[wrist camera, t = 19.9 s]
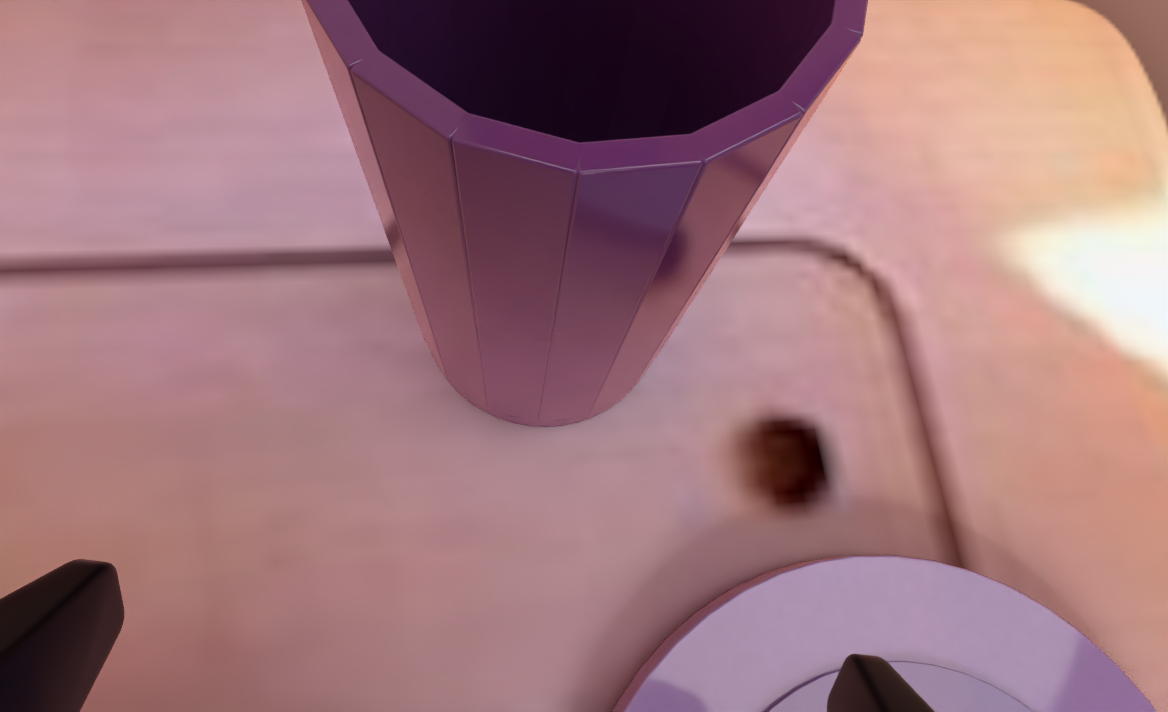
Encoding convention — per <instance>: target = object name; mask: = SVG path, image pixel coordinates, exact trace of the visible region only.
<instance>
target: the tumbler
mask: <svg viewBox="0 0 1168 712" xmlns="http://www.w3.org/2000/svg"><path fill="white" fill-rule="evenodd" d="M301 1H302V4H303V6H304V9H305V12H306V15H307V17H308V20H309V23H310V26H311V28H312V31H313V34H314V37H315V40H316V42H317V45H318V48H319V51H320V53H321V56H322V59H323V62H324V64H325V67H326V70H327V73H328V75H329V78H330V81H331V84H332V86H333V89H334V92H335V95H336V97H337V100H338V103H339V106H340V108H341V111H342V114H343V117H344V119H345V122H346V125H347V128H348V131H349V133H350V136H351V139H352V142H353V144H354V147H355V150H356V153H357V155H358V158H359V161H360V164H361V166H362V169H363V172H364V175H365V177H366V180H367V183H368V186H369V188H370V191H371V194H372V197H373V199H374V202H375V205H376V208H377V210H378V213H379V216H380V219H381V222H382V224H383V227H384V230H385V233H386V235H387V238H388V241H389V244H390V246H391V249H392V252H393V255H394V257H395V260H396V263H397V266H398V268H399V271H400V274H401V277H402V279H403V282H404V285H405V288H406V290H407V293H408V296H409V299H410V301H411V304H412V307H413V310H414V312H415V315H416V318H417V321H418V324H419V326H420V329H421V332H422V335H423V337H424V340H425V341H426V343H427V345H428V347H429V348H430V350H431V353H432V355H433V357H434V359H435V361H436V363H437V366H438V367H439V369H440V370H441V372H442V373H443V375H444V376H445V378H446V379H447V380H448V382H449V383H450V384H451V385H452V386H453V387H454V388H455V390H456V391H457V392H458V393H460V394H461V395H462V396H463V397H464V398H465V399H467V400H468V401H469V402H470V403H472V404H473V405H475V406H476V407H478V408H480V409H481V410H483V411H485V412H487V413H489V414H491V415H493V416H495V417H497V418H500V419H503V420H506V421H509V422H512V423H517V424H523V425H528V426H542V427H548V426H562V425H567V424H572V423H577V422H580V421H583V420H586V419H589V418H591V417H594V416H596V415H598V414H600V413H602V412H604V411H606V410H607V409H609V408H610V407H612V406H613V405H615V404H616V403H618V402H619V401H620V400H621V399H623V398H624V397H625V396H626V395H627V394H628V393H629V392H630V391H631V390H632V389H633V388H634V387H635V385H636V384H637V383H638V382H639V381H640V379H641V378H642V376H643V375H644V373H645V372H646V370H647V369H648V368H649V366H650V365H651V364H652V362H653V361H654V360H655V358H656V357H657V355H658V354H659V352H660V351H661V349H662V348H663V346H664V345H665V343H666V342H667V340H668V339H669V337H670V335H671V334H672V332H673V331H674V329H675V328H676V326H677V325H678V323H679V322H680V320H681V318H682V317H683V315H684V314H685V312H686V311H687V309H688V308H689V306H690V304H691V303H692V301H693V300H694V298H695V297H696V295H697V294H698V292H699V291H700V289H701V287H702V286H703V284H704V283H705V281H706V280H707V278H708V277H709V275H710V274H711V272H712V270H713V269H714V267H715V266H716V264H717V263H718V261H719V260H720V258H721V257H722V255H723V253H724V252H725V250H726V249H727V247H728V246H729V244H730V243H731V241H732V239H733V238H734V236H735V235H736V233H737V232H738V230H739V229H740V227H741V226H742V224H743V222H744V221H745V219H746V218H747V216H748V215H749V213H750V212H751V210H752V209H753V207H754V205H755V204H756V202H757V201H758V199H759V198H760V196H761V195H762V193H763V191H764V190H765V188H766V187H767V185H768V184H769V182H770V181H771V179H772V178H773V176H774V174H775V173H776V171H777V170H778V168H779V167H780V165H781V164H782V162H783V161H784V159H785V157H786V156H787V154H788V153H789V151H790V150H791V148H792V147H793V145H794V144H795V142H796V140H797V139H798V137H799V136H800V134H801V133H802V131H803V130H804V128H805V126H806V125H807V123H808V122H809V120H810V119H811V117H812V116H813V114H814V113H815V111H816V109H817V108H818V106H819V105H820V103H821V102H822V100H823V99H824V97H825V96H826V94H827V92H828V91H829V89H830V88H831V86H832V85H833V83H834V82H835V80H836V78H837V77H838V75H839V74H840V72H841V71H842V69H843V68H844V66H845V65H846V63H847V61H848V60H849V58H850V57H851V55H852V54H853V52H854V51H855V49H856V48H857V46H858V44H859V43H860V41H861V38H862V36H863V32H864V25H865V18H866V11H867V4H868V0H301Z"/></svg>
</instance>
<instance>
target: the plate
mask: <svg viewBox="0 0 1168 712" xmlns="http://www.w3.org/2000/svg"><path fill="white" fill-rule="evenodd" d="M850 654H863V655H871V656H878V657H881V658H883V659H884V660H886V661H887V662H888V663H889V664H890V665H891V666H892V667H893V668H894V669H895V670H896V671H897V672H898V673H899V674H900V675H901V676H902V678H903V679H904V680H905V681H906V682H907V683H908V684H909V685H910V686H911V687H912V688H913V689H914V690H915V691H916V692H917V693H918V694H919V695H920V696H921V697H922V699H923V700H924V701H925V702H926V703H927V704H928V705H929V706H930V707H931V708H932V709H933V710H934V711H935V712H1157V711H1156V710H1155V708H1154V707H1153V706H1152V704H1151V703H1150V701H1149V700H1148V699H1147V698H1146V697H1145V696H1144V694H1143V693H1142V692H1141V691H1140V690H1139V689H1138V688H1137V687H1136V685H1135V684H1134V683H1133V682H1132V681H1131V680H1130V679H1129V677H1128V676H1127V675H1126V674H1125V673H1124V672H1123V671H1122V670H1121V668H1120V667H1119V666H1118V665H1117V664H1116V663H1115V662H1114V661H1113V660H1111V659H1110V658H1109V657H1108V656H1107V655H1106V654H1105V653H1104V652H1103V651H1102V650H1101V649H1099V648H1098V647H1097V646H1096V645H1095V644H1094V643H1093V642H1092V641H1091V640H1090V639H1089V638H1087V637H1086V636H1085V635H1084V634H1083V633H1081V632H1080V631H1079V630H1077V629H1076V628H1075V627H1073V626H1072V625H1070V624H1069V623H1068V622H1066V621H1065V620H1064V619H1062V618H1061V617H1060V616H1058V615H1057V614H1055V613H1054V612H1053V611H1051V610H1050V609H1049V608H1047V607H1045V606H1044V605H1042V604H1040V603H1038V602H1037V601H1035V600H1033V599H1031V598H1029V597H1028V596H1026V595H1024V594H1022V593H1021V592H1019V591H1017V590H1015V589H1014V588H1012V587H1010V586H1007V585H1005V584H1003V583H1000V582H998V581H995V580H993V579H991V578H988V577H986V576H983V575H981V574H979V573H976V572H974V571H971V570H967V569H964V568H960V567H956V566H953V565H949V564H945V563H941V562H938V561H934V560H927V559H920V558H912V557H905V556H897V555H854V556H841V557H832V558H826V559H819V560H813V561H806V562H800V563H797V564H793V565H790V566H787V567H783V568H780V569H777V570H774V571H770V572H767V573H764V574H762V575H760V576H758V577H756V578H753V579H751V580H749V581H747V582H745V583H743V584H741V585H739V586H736V587H734V588H732V589H730V590H729V591H727V592H725V593H724V594H722V595H721V596H719V597H718V598H716V599H715V600H713V601H712V602H710V603H709V604H707V605H706V606H704V607H703V608H701V609H700V610H698V611H697V612H696V613H695V614H693V615H692V616H691V617H690V618H689V619H688V620H687V621H685V622H684V623H683V624H682V625H681V626H680V627H679V628H678V629H676V630H675V631H674V632H673V633H672V634H671V635H670V636H669V637H667V638H666V639H665V641H664V642H663V643H662V644H661V645H660V646H659V648H658V649H657V650H656V651H655V652H654V653H653V655H652V656H651V657H650V658H649V659H648V660H647V661H646V663H645V664H644V665H643V666H642V667H641V668H640V670H639V671H638V672H637V674H636V675H635V677H634V678H633V680H632V681H631V683H630V684H629V686H628V688H627V689H626V691H625V692H624V694H623V695H622V697H621V698H620V700H619V701H618V703H617V704H616V706H615V707H614V709H613V711H612V712H827V700H828V696H829V693H830V691H831V689H832V687H833V684H834V682H835V680H836V678H837V676H838V673H839V671H840V669H841V667H842V665H843V663H844V661H845V659H846V657H848V656H849V655H850Z"/></svg>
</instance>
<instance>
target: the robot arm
mask: <svg viewBox="0 0 1168 712" xmlns="http://www.w3.org/2000/svg"><path fill="white" fill-rule="evenodd" d="M123 621H124V606H123V601H122V596H121V591H120V586H119V581H118V575H117V571H116V568H115V567H114V566H113V565H112V564H111V563H108V562H101V561H93V560H85V559H77V560H73V561H70V562H68V563H66V564H64V565H62V566H60V567H59V568H57V569H55V570H53V571H51V572H49V573H47V574H46V575H44V576H42V577H40V578H38V579H36V580H35V581H33V582H31V583H29V584H27V585H25V586H23V587H22V588H20V589H18V590H16V591H14V592H12V593H11V594H9V595H7V596H5V597H3V598H1V599H0V712H80V710H81V708H82V706H83V704H84V702H85V700H86V698H87V696H88V694H89V692H90V690H91V688H92V686H93V684H94V682H95V680H96V678H97V676H98V674H99V672H100V670H101V668H102V667H103V665H104V663H105V661H106V659H107V657H108V655H109V653H110V651H111V649H112V647H113V645H114V643H115V641H116V639H117V637H118V635H119V633H120V631H121V628H122V625H123ZM827 712H935V711H934V710H933V709H932V708H931V707H930V706H929V705H928V704H927V703H926V702H925V701H924V700H923V699H922V697H921V696H920V695H919V694H918V693H917V692H916V691H915V690H914V689H913V688H912V687H911V686H910V685H909V684H908V683H907V682H906V681H905V680H904V679H903V678H902V676H901V675H900V674H899V673H898V672H897V671H896V670H895V669H894V668H893V667H892V666H891V665H890V664H889V663H888V662H887V661H886V660H884V659H883V658H881V657H878V656H871V655H863V654H850V655H849V656H848V657H846V659H845V661H844V663H843V665H842V667H841V669H840V671H839V673H838V676H837V678H836V680H835V682H834V684H833V687H832V689H831V691H830V693H829V696H828V700H827Z"/></svg>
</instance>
